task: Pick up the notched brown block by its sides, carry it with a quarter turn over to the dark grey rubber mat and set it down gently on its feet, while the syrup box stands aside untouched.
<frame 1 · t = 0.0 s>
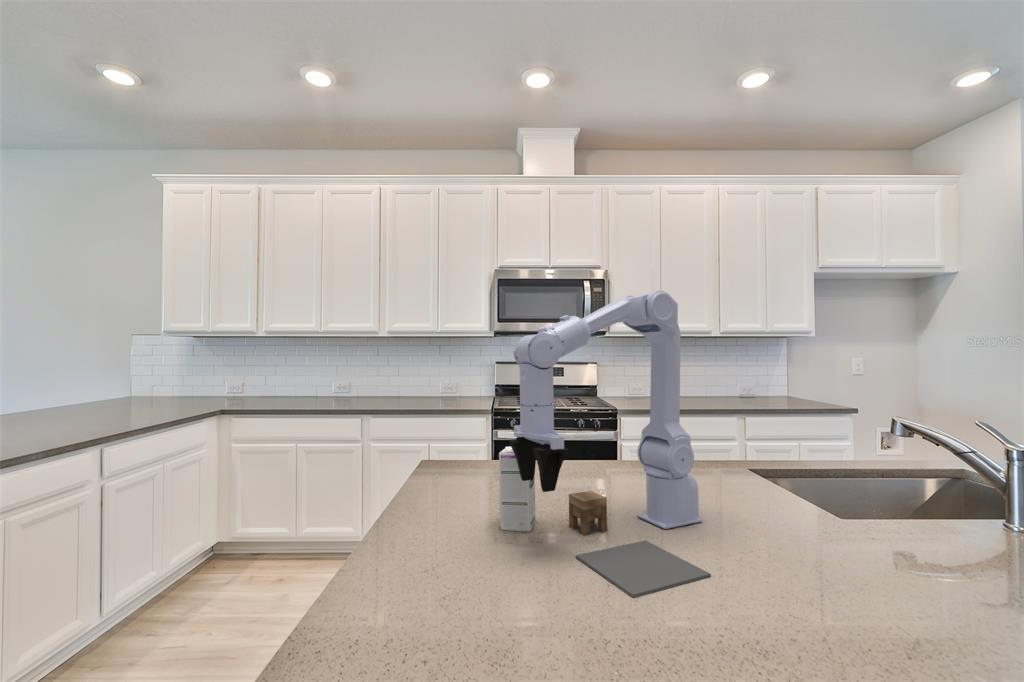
hand: (537, 485, 82), 10 cm above the countertop, tool pointing down, fingers open, 7 cm apart
syrup box: (517, 527, 91), on the countertop
mat: (640, 566, 73), on the countertop
notched brown block: (587, 528, 89), on the countertop
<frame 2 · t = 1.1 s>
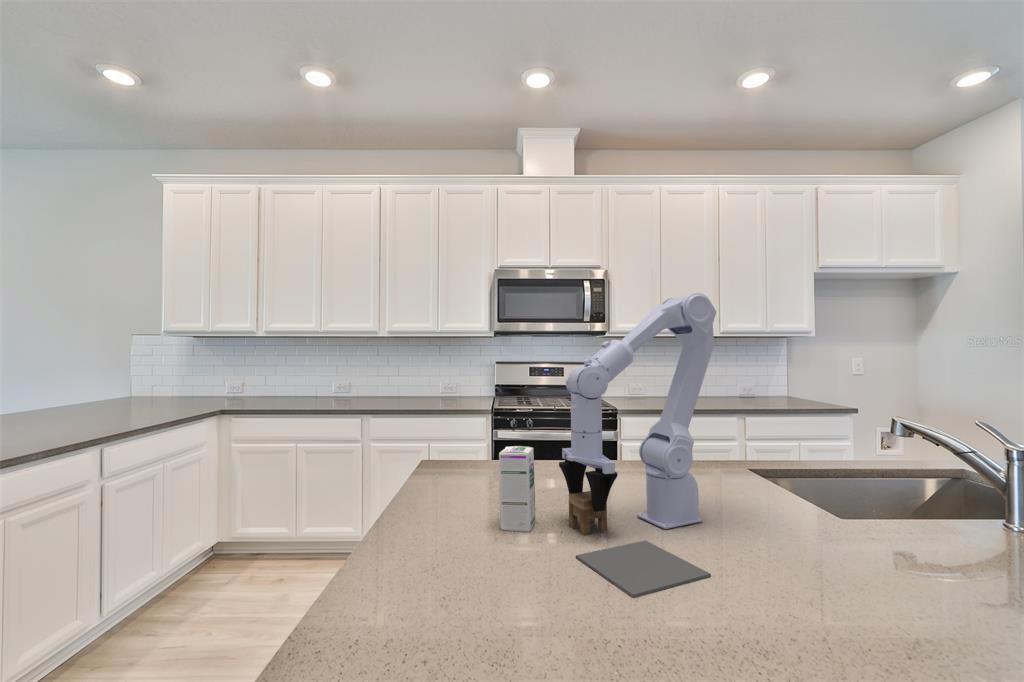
hand: (587, 504, 89), 4 cm above the countertop, tool pointing down, fingers open, 7 cm apart
nothing on the countertop moved.
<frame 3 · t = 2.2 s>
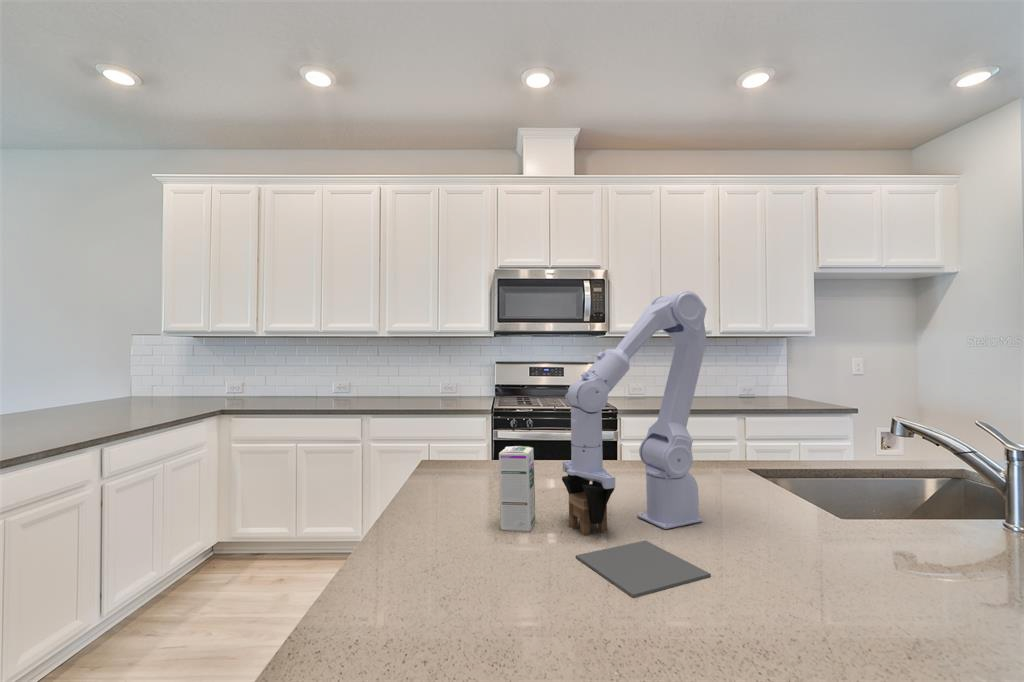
hand: (587, 518, 89), 2 cm above the countertop, tool pointing down, fingers closed on notched brown block, 5 cm apart
notched brown block: (587, 528, 89), on the countertop, touching gripper
everything else where it was.
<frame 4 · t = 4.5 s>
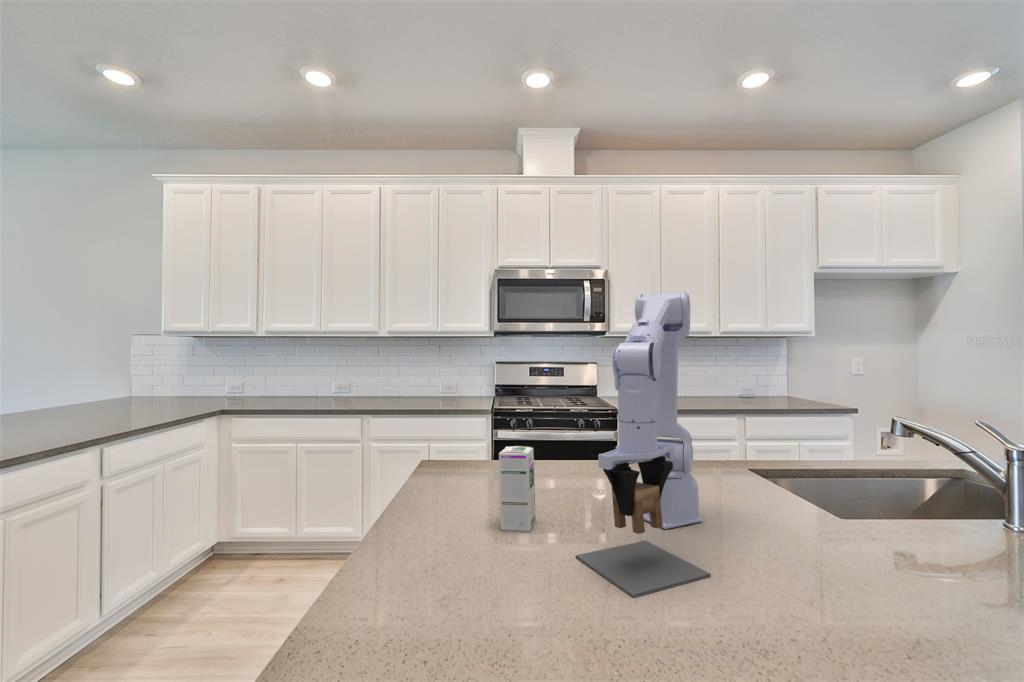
hand: (639, 510, 73), 8 cm above the countertop, tool pointing down, fingers closed on notched brown block, 5 cm apart
notched brown block: (638, 526, 73), point 6 cm above the countertop, touching gripper
everything else where it was.
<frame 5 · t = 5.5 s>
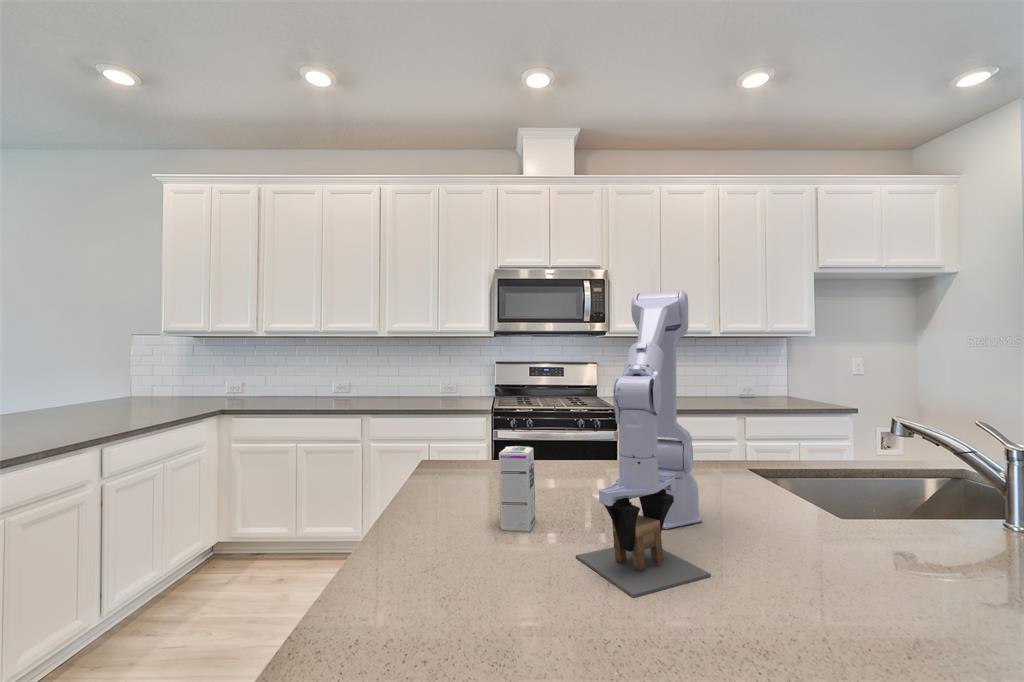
hand: (639, 544, 73), 3 cm above the countertop, tool pointing down, fingers closed on notched brown block, 5 cm apart
notched brown block: (639, 561, 73), point 1 cm above the countertop, touching gripper
everything else where it was.
when the fingers open (3 cm above the countertop, at t = 6.6 s): notched brown block stays where it is, resting on mat.
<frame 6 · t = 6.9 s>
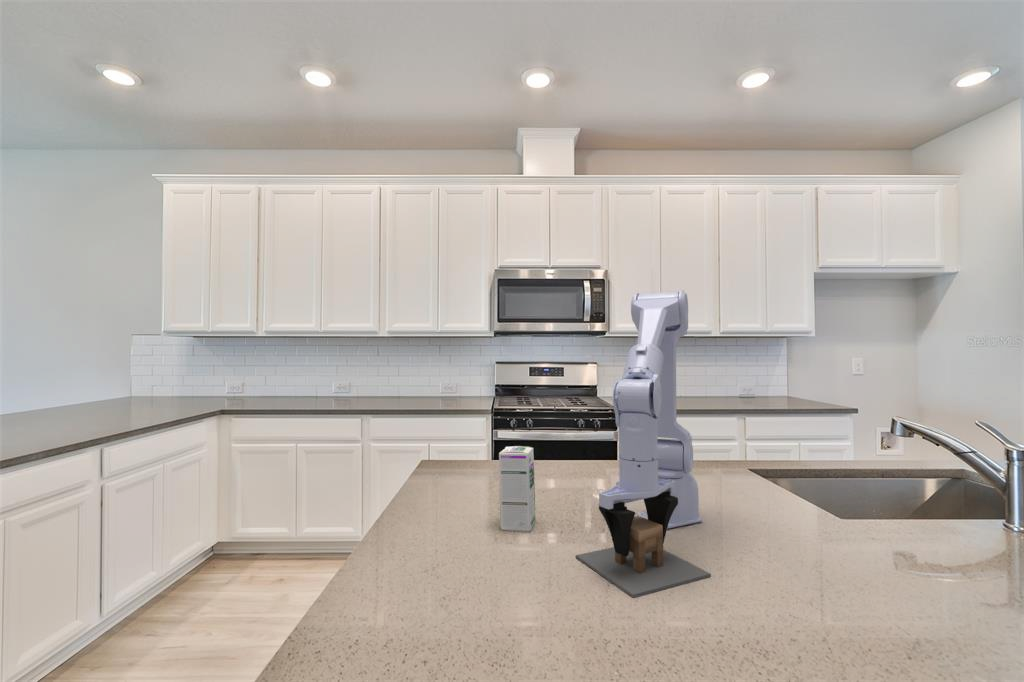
hand: (639, 547, 73), 3 cm above the countertop, tool pointing down, fingers open, 7 cm apart
notched brown block: (639, 563, 73), resting on mat
everything else where it was.
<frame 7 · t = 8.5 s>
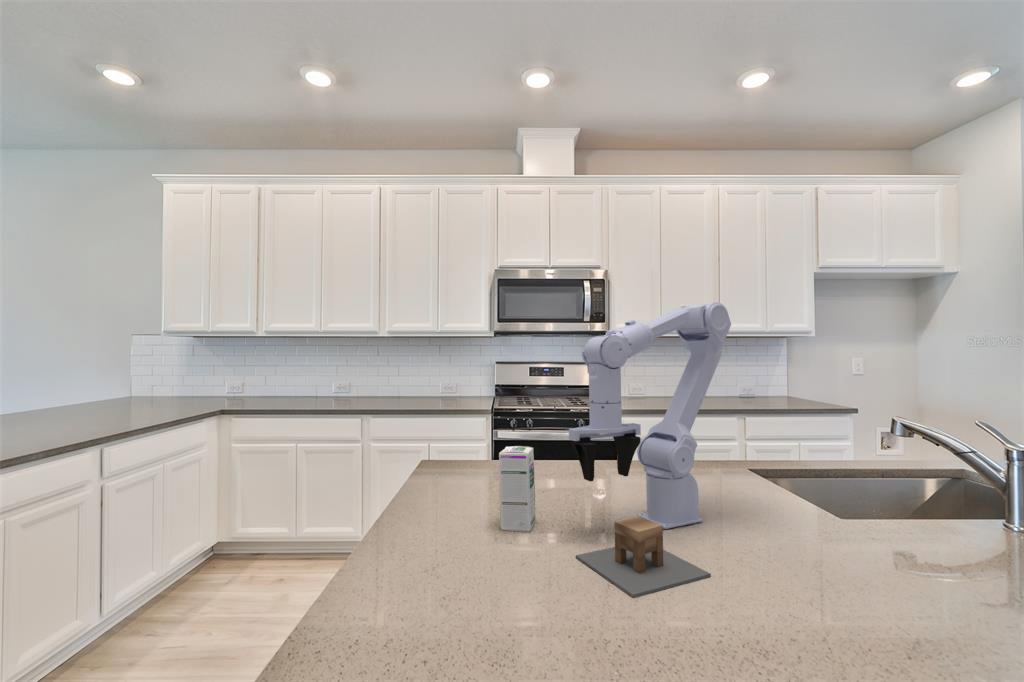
hand: (606, 477, 87), 10 cm above the countertop, tool pointing down, fingers open, 7 cm apart
nothing on the countertop moved.
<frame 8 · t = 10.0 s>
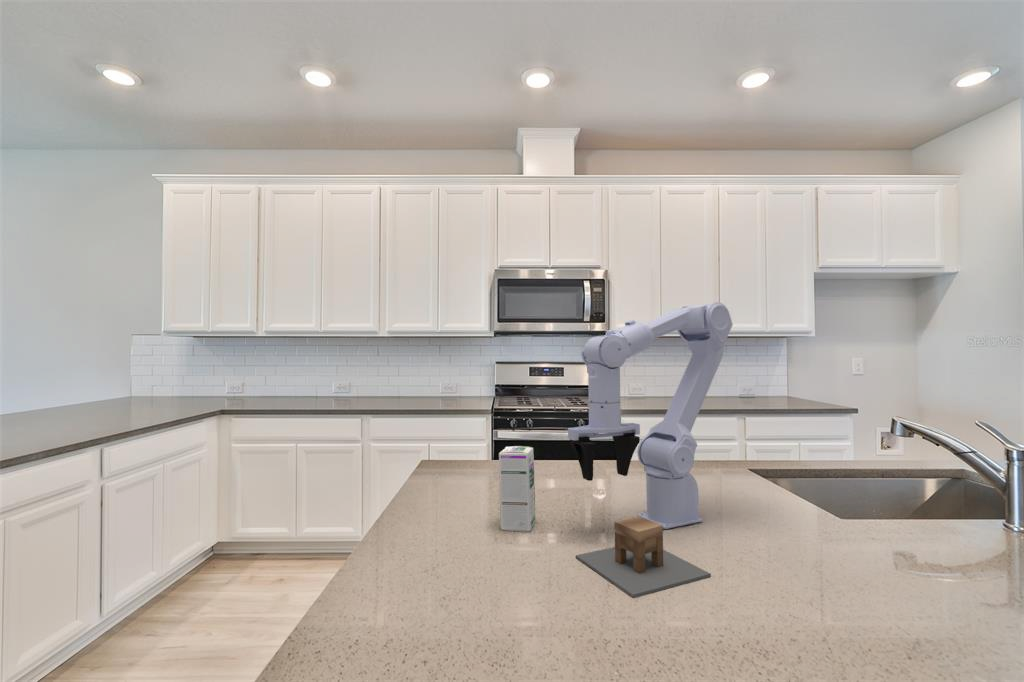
hand: (605, 477, 87), 10 cm above the countertop, tool pointing down, fingers open, 7 cm apart
nothing on the countertop moved.
at the end: notched brown block inside the target area on the mat (0.2 cm from its centre), point 0.4 cm above the mat's base; notched brown block tilted 0°; the gripper is holding nothing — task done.
